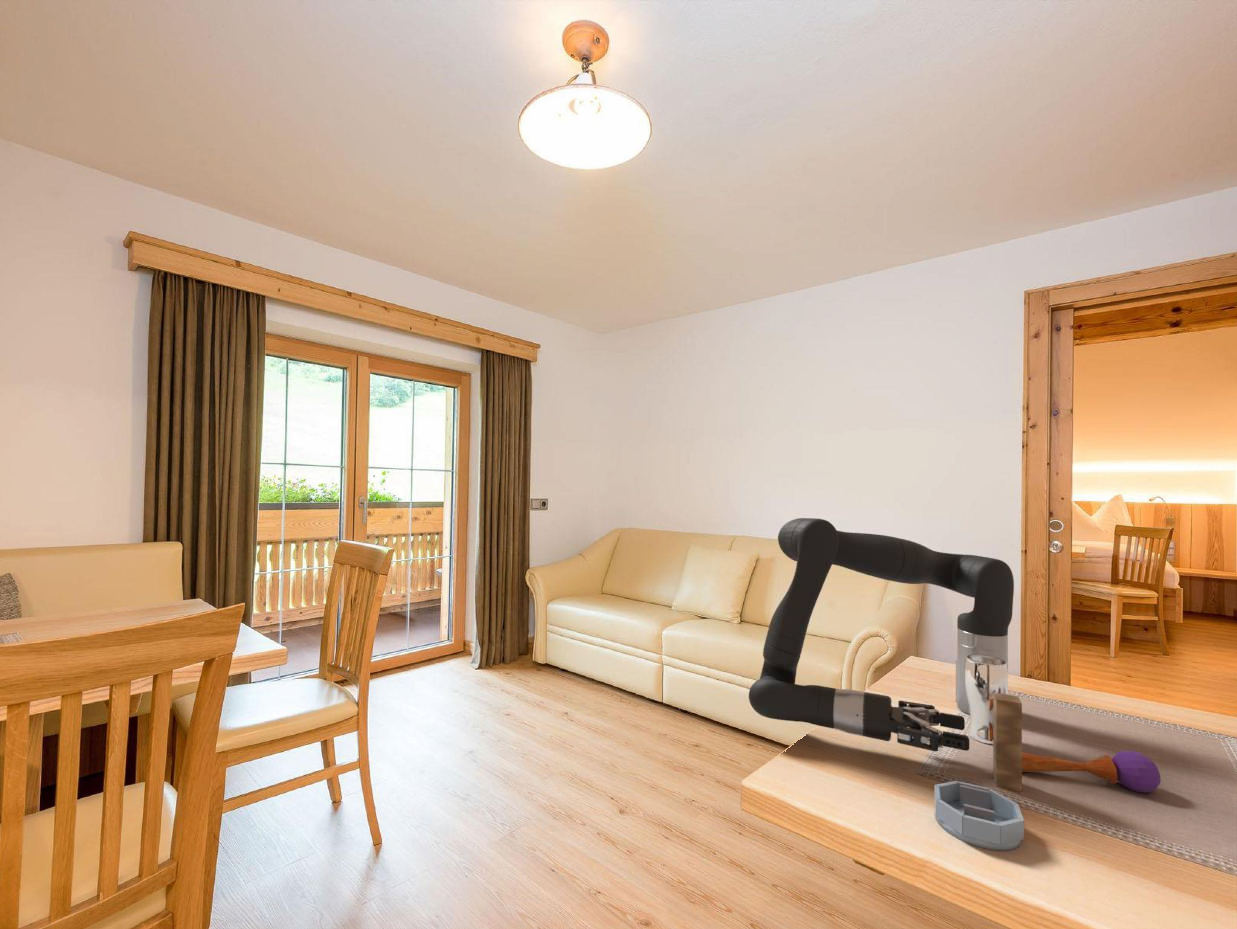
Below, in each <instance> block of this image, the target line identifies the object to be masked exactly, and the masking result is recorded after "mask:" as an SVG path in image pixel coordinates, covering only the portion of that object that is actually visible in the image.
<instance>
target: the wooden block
mask: <svg viewBox="0 0 1237 929" xmlns="http://www.w3.org/2000/svg"><path fill="white" fill-rule="evenodd" d="M1022 717H1023V703H1022V701H1021V700H1020V698H1019V695H1011V694H1008V695H1006V694H1000V693H994V695H993V748H992V749H993V753H992V754H993V757H992V758H993V759H992V760H993V761H992V762H993V764H992V765H993V768H992V770H993V773H992V777H993V780H994V783H995V784H994V785H995V787H998V788H1000V789H1001V788H1002V789H1006V790H1009V791H1015V792H1019V793H1022V792H1023V781H1022V780H1023V772H1022V753H1023V733H1022V732H1023V720H1022V719H1023V718H1022Z"/></svg>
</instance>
